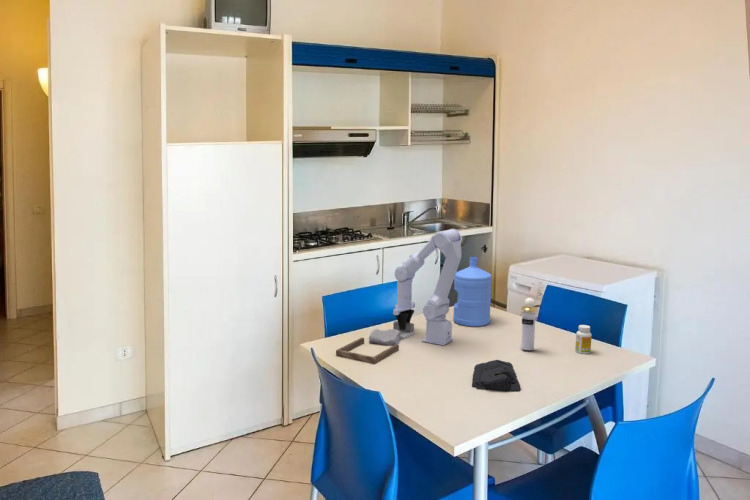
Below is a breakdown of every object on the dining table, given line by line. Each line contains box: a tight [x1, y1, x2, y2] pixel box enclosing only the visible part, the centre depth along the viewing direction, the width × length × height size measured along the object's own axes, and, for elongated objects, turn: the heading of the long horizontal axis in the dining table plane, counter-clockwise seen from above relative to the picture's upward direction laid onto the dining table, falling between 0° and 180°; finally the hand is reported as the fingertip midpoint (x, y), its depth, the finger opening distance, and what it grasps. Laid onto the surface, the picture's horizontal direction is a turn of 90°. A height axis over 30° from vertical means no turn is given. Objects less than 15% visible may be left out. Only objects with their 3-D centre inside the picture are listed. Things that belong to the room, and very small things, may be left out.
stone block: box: [368, 328, 402, 346], centre depth 246 cm, size 12×5×10 cm
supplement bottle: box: [575, 324, 593, 355], centre depth 233 cm, size 5×5×10 cm
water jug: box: [452, 256, 493, 328], centre depth 269 cm, size 16×16×28 cm
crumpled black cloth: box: [471, 359, 522, 393], centre depth 208 cm, size 15×22×5 cm
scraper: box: [392, 320, 415, 340], centre depth 253 cm, size 8×8×4 cm
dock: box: [335, 337, 400, 365], centre depth 232 cm, size 16×17×2 cm
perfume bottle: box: [520, 297, 538, 351], centre depth 234 cm, size 6×6×20 cm
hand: (404, 328), depth 256 cm, fingers closed on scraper, 2 cm apart
